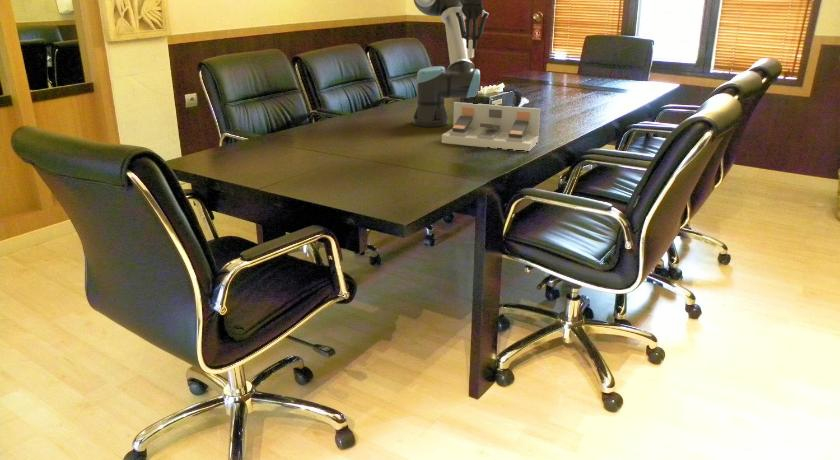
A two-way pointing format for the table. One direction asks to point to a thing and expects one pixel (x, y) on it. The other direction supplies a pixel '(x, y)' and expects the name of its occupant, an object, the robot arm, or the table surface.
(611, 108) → the table surface
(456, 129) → the switch
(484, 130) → the switch unit
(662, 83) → the table surface
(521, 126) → the switch
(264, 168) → the table surface
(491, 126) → the switch
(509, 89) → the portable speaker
